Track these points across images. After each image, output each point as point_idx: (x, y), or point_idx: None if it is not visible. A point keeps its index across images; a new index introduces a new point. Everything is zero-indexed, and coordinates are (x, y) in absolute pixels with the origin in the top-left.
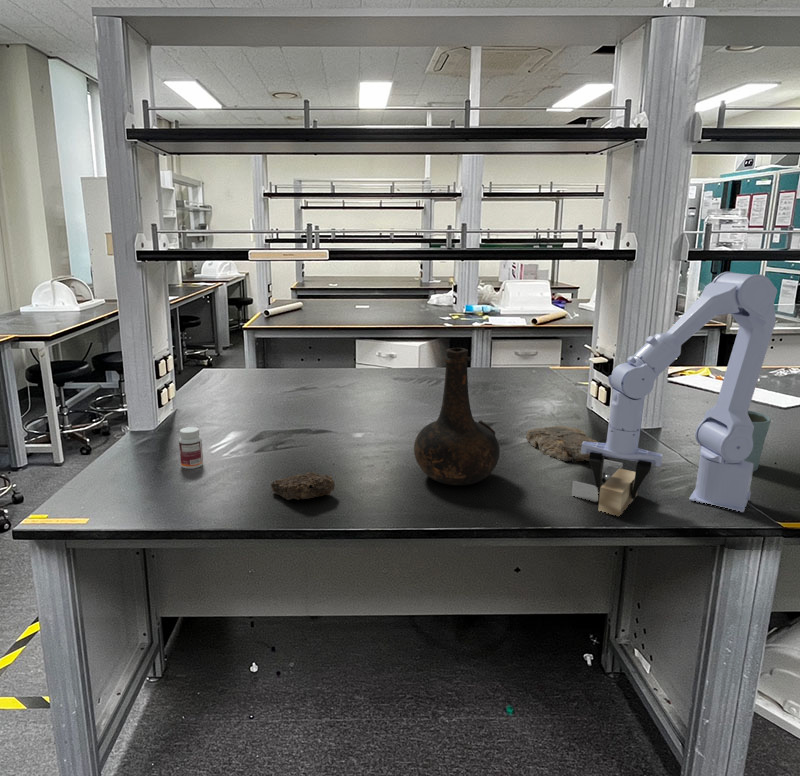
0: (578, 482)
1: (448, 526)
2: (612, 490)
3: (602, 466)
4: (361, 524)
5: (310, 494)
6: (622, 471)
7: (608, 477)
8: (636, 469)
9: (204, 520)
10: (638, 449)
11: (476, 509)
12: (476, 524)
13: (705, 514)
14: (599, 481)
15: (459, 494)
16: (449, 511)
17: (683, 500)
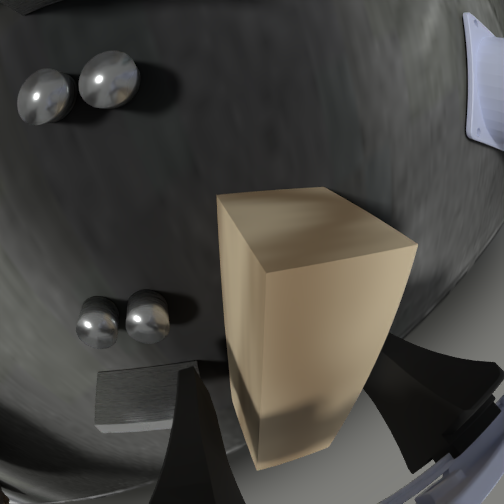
0: (119, 427)
1: (96, 494)
2: (298, 457)
3: (221, 483)
4: (54, 498)
5: (2, 494)
6: (309, 318)
7: (115, 105)
8: (408, 463)
9: (14, 498)
10: (490, 481)
11: (65, 473)
12: (109, 488)
13: (475, 208)
14: (221, 444)
15: (2, 451)
16: (56, 480)
17: (453, 135)
